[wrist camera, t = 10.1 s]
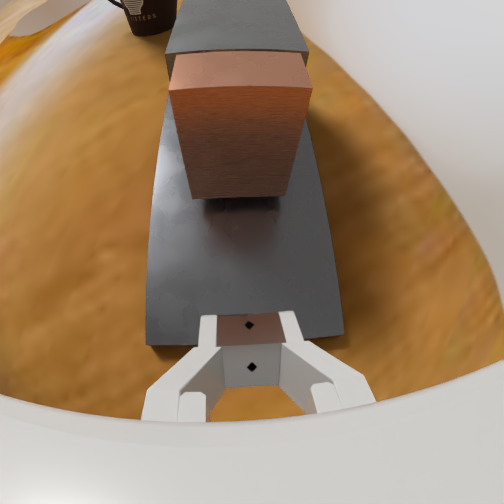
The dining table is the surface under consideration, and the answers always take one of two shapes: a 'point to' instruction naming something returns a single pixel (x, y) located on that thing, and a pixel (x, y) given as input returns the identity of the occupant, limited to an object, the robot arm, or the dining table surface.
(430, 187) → the dining table surface
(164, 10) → the coffee mug
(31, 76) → the dining table surface
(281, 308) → the housing
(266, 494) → the robot arm
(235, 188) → the shaft
